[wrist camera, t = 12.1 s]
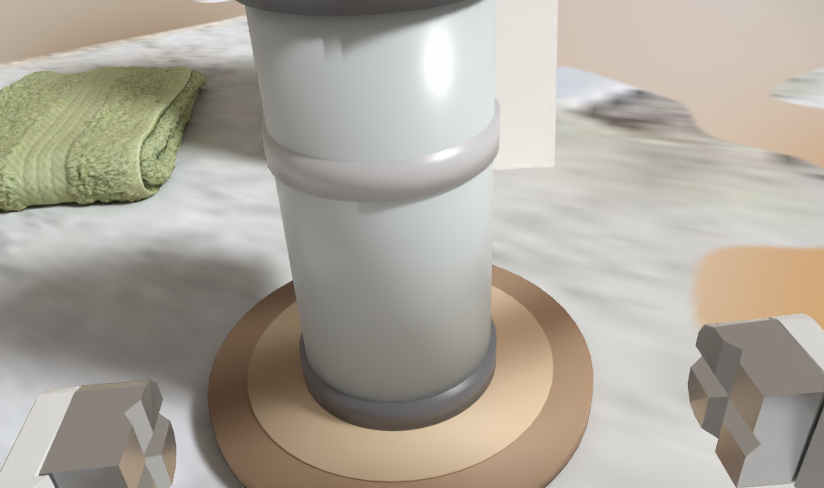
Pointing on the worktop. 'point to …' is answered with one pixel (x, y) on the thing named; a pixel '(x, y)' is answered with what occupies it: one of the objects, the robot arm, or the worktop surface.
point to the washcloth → (92, 134)
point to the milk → (526, 82)
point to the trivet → (414, 449)
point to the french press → (385, 197)
